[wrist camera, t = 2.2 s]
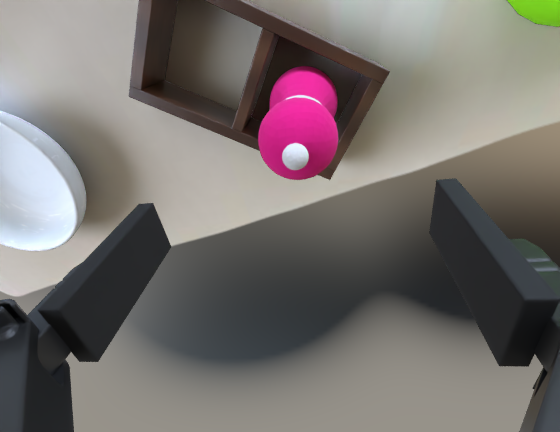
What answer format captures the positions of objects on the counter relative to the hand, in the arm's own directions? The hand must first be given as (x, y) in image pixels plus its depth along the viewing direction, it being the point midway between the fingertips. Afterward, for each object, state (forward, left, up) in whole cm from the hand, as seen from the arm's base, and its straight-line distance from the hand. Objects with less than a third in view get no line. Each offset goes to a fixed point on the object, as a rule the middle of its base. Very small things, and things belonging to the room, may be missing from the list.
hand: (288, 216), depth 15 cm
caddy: (-6, 0, -26) cm, 27 cm away
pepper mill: (0, 0, -26) cm, 26 cm away
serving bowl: (-33, -25, -26) cm, 49 cm away
